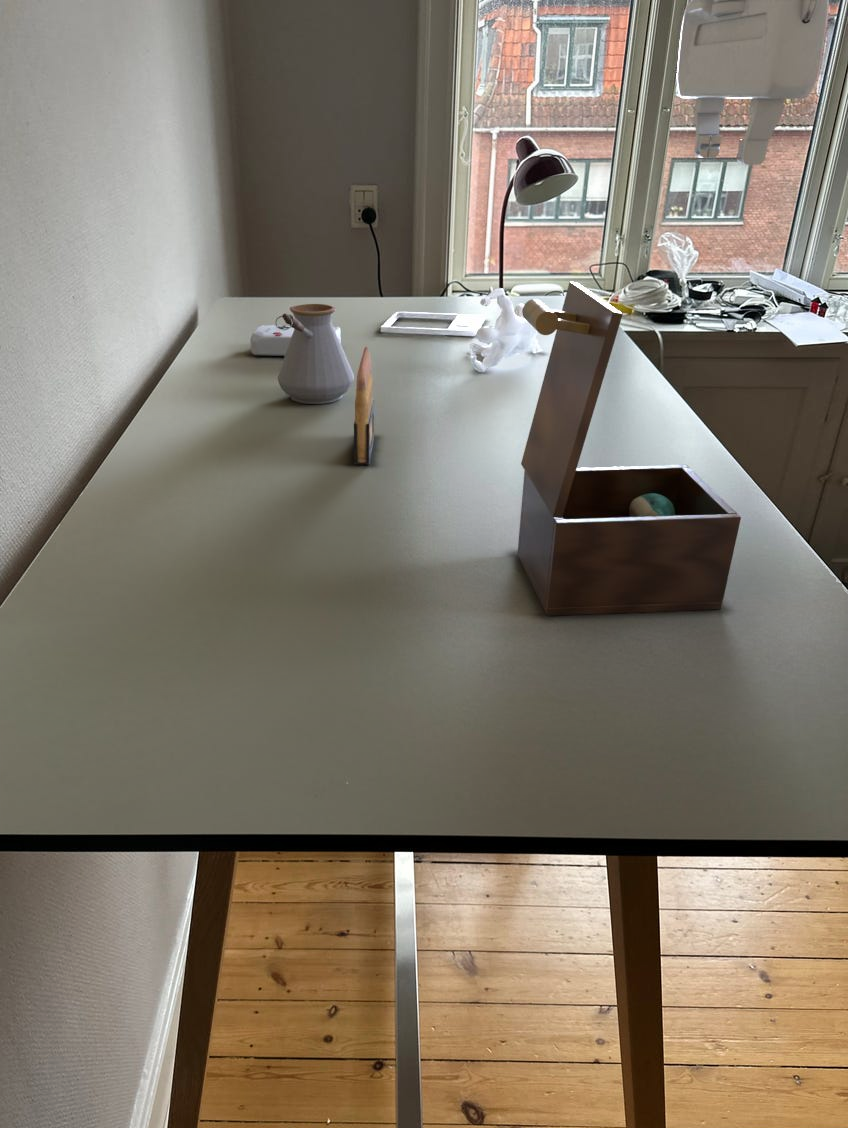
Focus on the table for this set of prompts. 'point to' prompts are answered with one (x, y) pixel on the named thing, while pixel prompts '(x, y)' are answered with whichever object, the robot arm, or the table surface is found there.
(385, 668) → the table surface
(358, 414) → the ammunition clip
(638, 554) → the compartment
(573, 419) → the compartment lid
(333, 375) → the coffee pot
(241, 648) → the table surface
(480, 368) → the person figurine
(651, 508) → the whale figurine
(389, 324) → the photo frame
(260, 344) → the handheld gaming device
